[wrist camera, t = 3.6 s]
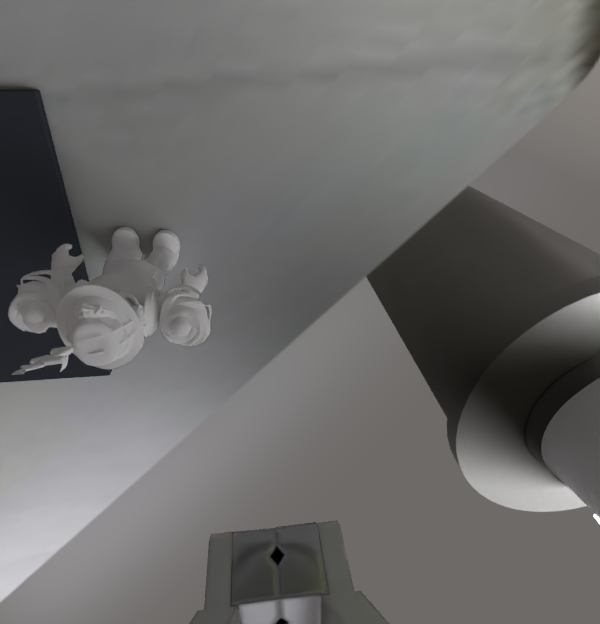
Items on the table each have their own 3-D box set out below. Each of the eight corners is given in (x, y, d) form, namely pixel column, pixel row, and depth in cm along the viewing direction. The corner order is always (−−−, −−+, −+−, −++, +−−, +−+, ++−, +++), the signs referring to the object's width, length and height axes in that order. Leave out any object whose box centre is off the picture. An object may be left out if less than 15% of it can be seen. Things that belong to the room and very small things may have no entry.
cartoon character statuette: (73, 269, 28) (-32, 389, 18) (68, 208, 26) (-51, 301, 16) (218, 285, 30) (201, 404, 19) (223, 228, 28) (208, 325, 17)
